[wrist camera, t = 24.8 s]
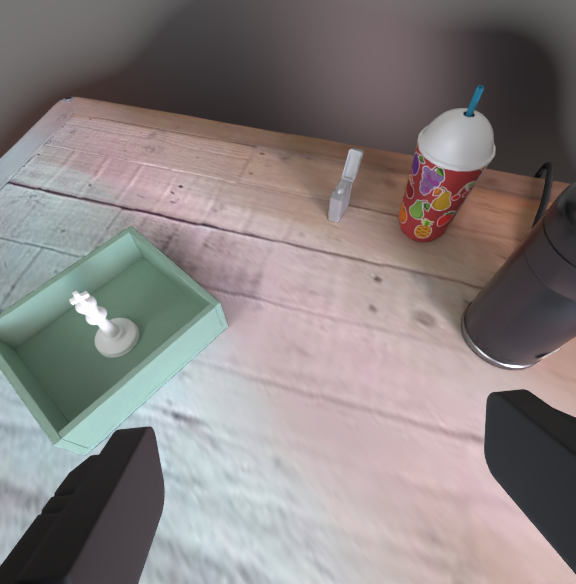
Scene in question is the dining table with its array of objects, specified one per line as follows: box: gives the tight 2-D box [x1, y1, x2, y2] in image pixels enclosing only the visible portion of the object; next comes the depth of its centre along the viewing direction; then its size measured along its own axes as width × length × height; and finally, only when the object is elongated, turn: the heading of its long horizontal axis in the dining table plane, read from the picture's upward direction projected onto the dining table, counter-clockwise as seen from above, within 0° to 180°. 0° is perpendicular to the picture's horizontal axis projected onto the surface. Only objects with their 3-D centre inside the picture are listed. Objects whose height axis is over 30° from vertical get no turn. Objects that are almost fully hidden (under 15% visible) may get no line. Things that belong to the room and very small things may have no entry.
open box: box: [0, 226, 228, 456], centre depth 41 cm, size 20×17×6 cm
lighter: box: [328, 148, 364, 223], centre depth 52 cm, size 7×2×8 cm, turn 153°
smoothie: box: [398, 85, 495, 242], centre depth 44 cm, size 8×8×20 cm
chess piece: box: [69, 291, 139, 358], centre depth 39 cm, size 5×5×10 cm
